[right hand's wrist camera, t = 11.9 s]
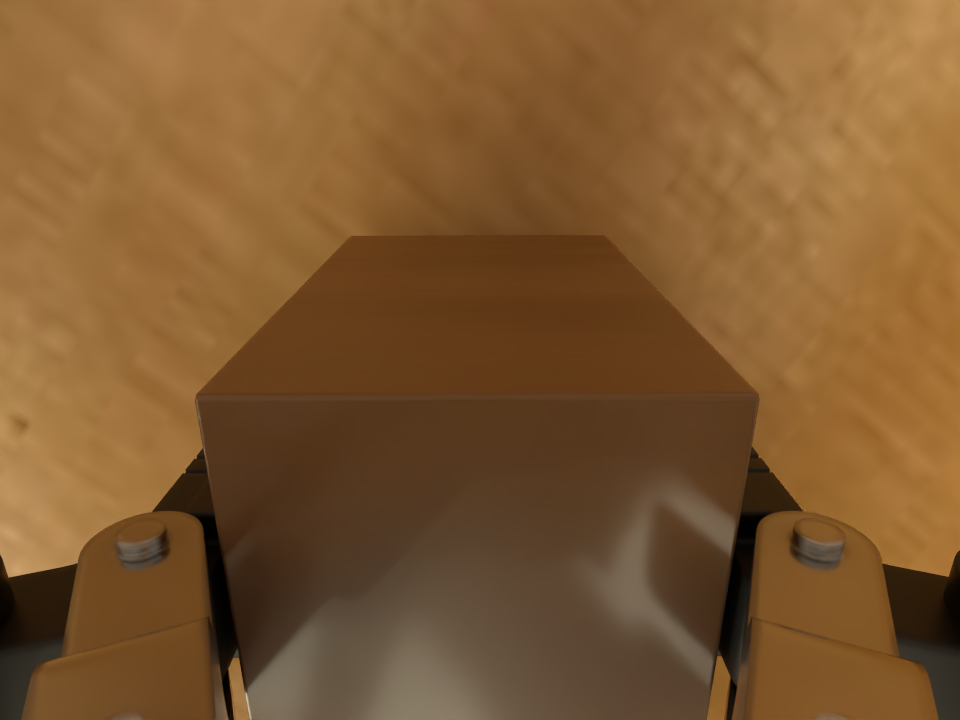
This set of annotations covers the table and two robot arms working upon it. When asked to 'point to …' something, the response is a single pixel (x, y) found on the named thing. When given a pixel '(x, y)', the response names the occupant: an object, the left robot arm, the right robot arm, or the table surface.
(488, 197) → the table surface
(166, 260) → the table surface
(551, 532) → the bar
